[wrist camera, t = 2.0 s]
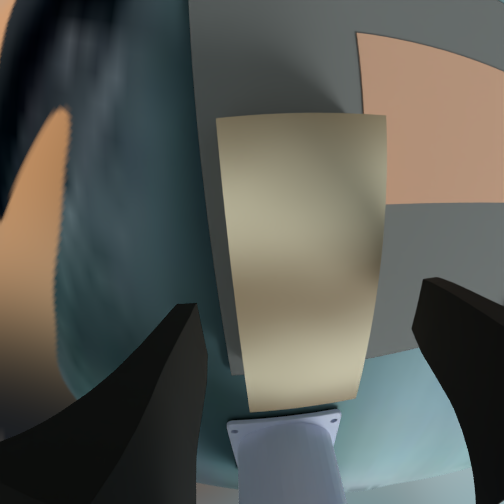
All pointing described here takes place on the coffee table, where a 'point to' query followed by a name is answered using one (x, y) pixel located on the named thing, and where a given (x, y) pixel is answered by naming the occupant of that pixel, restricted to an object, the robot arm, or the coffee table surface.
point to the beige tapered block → (304, 249)
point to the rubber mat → (377, 103)
